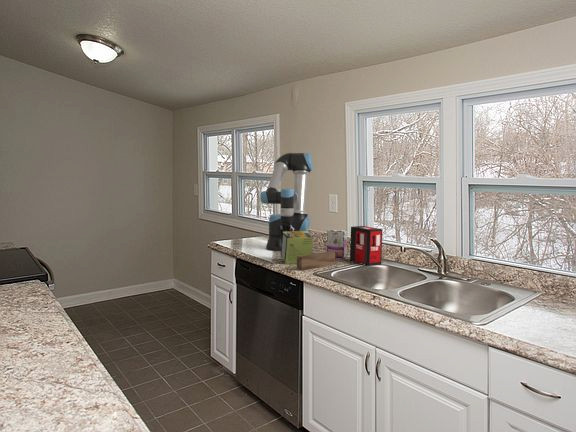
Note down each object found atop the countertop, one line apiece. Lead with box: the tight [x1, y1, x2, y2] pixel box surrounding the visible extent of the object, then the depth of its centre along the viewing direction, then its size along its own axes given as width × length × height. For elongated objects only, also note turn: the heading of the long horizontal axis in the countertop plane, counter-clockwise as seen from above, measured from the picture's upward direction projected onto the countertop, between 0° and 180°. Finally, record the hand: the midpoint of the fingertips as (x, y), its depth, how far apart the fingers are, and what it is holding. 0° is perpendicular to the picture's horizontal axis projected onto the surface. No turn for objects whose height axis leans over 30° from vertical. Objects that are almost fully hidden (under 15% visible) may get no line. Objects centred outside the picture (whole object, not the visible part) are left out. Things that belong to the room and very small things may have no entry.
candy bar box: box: [326, 229, 348, 259], centre depth 262 cm, size 11×5×16 cm, turn 62°
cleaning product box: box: [349, 225, 383, 267], centre depth 245 cm, size 16×9×20 cm, turn 31°
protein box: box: [280, 230, 314, 265], centre depth 243 cm, size 10×15×16 cm
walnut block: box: [296, 251, 336, 271], centre depth 232 cm, size 4×24×7 cm, turn 129°
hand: (286, 255), depth 252 cm, fingers closed
